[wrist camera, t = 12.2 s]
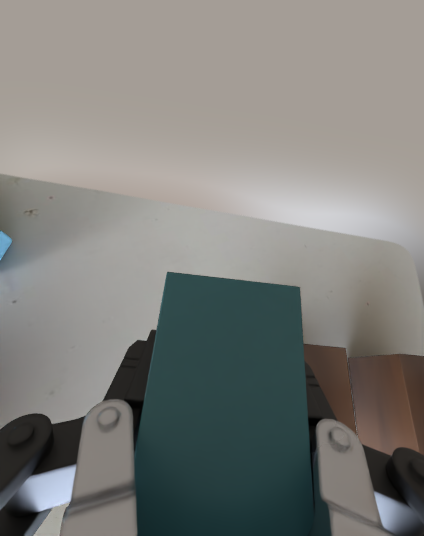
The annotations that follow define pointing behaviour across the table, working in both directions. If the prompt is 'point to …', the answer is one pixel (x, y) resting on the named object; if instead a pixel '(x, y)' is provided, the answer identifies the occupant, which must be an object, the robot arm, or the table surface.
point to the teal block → (225, 413)
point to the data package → (4, 243)
